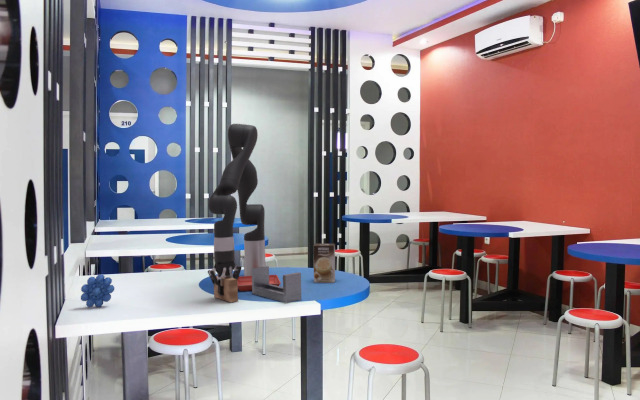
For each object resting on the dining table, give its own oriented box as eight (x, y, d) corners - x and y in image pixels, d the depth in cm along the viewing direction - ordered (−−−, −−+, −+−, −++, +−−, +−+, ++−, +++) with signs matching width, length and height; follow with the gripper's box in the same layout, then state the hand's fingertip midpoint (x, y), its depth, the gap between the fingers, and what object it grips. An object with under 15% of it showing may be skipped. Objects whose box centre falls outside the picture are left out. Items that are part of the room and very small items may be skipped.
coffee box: (313, 282, 229) (312, 245, 228) (314, 279, 235) (314, 243, 234) (334, 282, 228) (333, 245, 227) (335, 279, 234) (335, 243, 234)
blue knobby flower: (117, 303, 199) (116, 271, 199) (113, 307, 193) (112, 274, 192) (84, 305, 197) (82, 273, 197) (79, 309, 191) (77, 276, 190)
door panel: (214, 297, 205) (213, 276, 205) (221, 295, 207) (220, 275, 207) (231, 302, 196) (230, 280, 196) (238, 300, 198) (237, 279, 198)
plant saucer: (281, 290, 217) (281, 282, 217) (236, 293, 214) (235, 285, 214) (277, 281, 235) (276, 274, 234) (235, 284, 232) (235, 276, 231)
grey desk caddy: (252, 293, 210) (251, 268, 210) (267, 290, 215) (266, 266, 214) (286, 303, 194) (285, 275, 194) (301, 299, 199) (300, 272, 198)
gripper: (234, 245, 208) (236, 290, 209) (202, 250, 199) (204, 296, 200) (245, 247, 202) (247, 293, 203) (212, 252, 193) (214, 299, 194)
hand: (225, 294), depth 201 cm, fingers closed on door panel, 3 cm apart
